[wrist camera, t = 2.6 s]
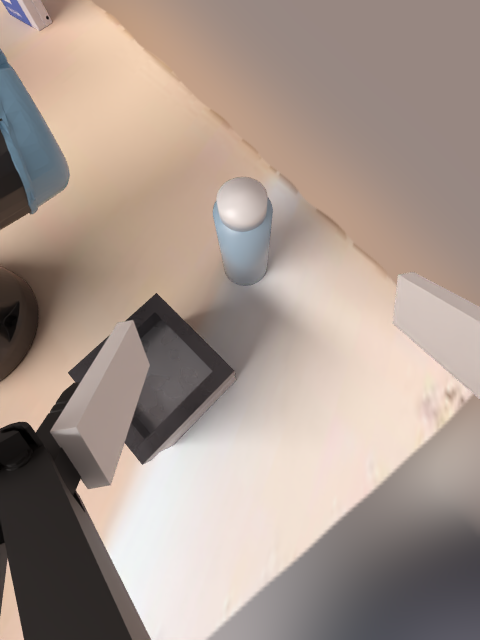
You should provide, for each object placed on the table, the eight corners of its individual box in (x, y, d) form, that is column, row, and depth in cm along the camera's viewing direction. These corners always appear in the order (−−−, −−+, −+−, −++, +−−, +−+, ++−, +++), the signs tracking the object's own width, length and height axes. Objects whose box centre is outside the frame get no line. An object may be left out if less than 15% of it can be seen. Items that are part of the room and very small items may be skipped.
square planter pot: (114, 380, 31) (67, 372, 23) (179, 319, 32) (156, 293, 25) (172, 448, 29) (142, 464, 21) (239, 379, 30) (234, 371, 23)
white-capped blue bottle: (215, 266, 34) (197, 199, 23) (245, 238, 35) (241, 161, 24) (245, 293, 33) (242, 237, 22) (275, 265, 34) (287, 196, 23)
